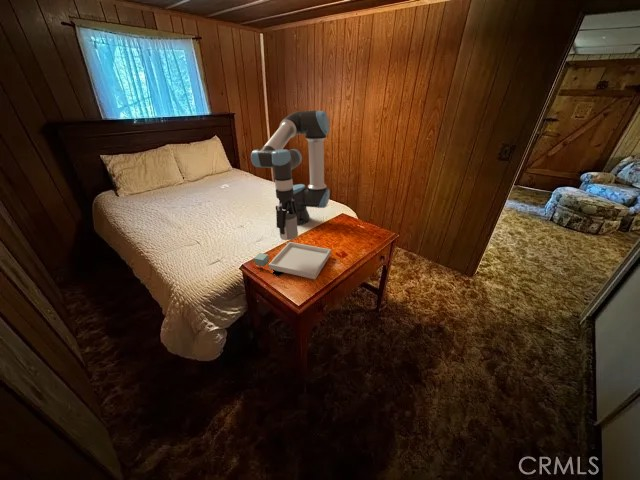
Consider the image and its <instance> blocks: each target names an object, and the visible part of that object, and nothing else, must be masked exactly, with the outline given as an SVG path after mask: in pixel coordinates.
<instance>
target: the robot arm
mask: <svg viewBox="0 0 640 480" xmlns="http://www.w3.org/2000/svg"><path fill="white" fill-rule="evenodd" d="M329 133H330V119H329V116H328V114H327V112H326V111H325V110H297V111H294V112H292V113H290V114H288V115H287V116H286V117H284V118H283V119H282V121H280V123H279V126H278V129H277V130H276V131H274V133H273V134H272V135H271V137H270V138H269V139H268V140H267V142H266V143H265V144H264V145H263V146H262V148H261V149H253V150H252V152H251V153H250V162H251V164H252V165H253V166H254V167H256V168H268V169H270V168H271V169H272V170H273V176H274V177H273V178H274V184H275V185H274V186H275V195H276V196H275V197H276V199H277V200H279V203H278V205H275V211H276V228H278V229H279V228H280V231H279V233H280V232H281V237H280V239H281V240H282V241H283V240H284V241H289V240H288V239H287V230H286V227H285V222H286V221H285V220H286V213H289V214H293V213H294V214H296V217H297V226H301V225H305V224H307V223H308V222H310V220H311V218H310V217H311V216H310V213H309V211H308V208H318V209H324V208H326V207H327V206H328V204H329V200H330V194H331V191H330V189H329V188H328V187H327V184H326V183H325V159H324V158H325V150H324V149H325V147H324V145H325V144H324V142H325V140H326V139H327V136H328V135H329ZM296 135H304V137H305V140H306V141H307V145H308V165H309V166H308V168H309V184H308V185H307V187H306V185H305V184H303V183H299V184H294V182H293V171H292V170H294V169H295V168H298V167H299V165H301V164H302V160H303V156H302V154H301V152H300V151H299V150H298V149H295V148H293V149H284V148H285V146H286V145H287V144H288V143H289V141H290V139H292V138H294V137H295V136H296Z"/></svg>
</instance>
